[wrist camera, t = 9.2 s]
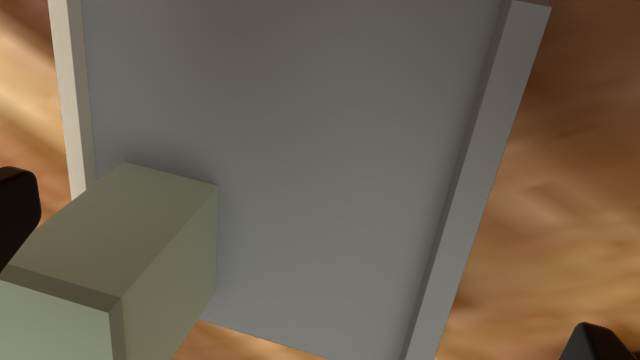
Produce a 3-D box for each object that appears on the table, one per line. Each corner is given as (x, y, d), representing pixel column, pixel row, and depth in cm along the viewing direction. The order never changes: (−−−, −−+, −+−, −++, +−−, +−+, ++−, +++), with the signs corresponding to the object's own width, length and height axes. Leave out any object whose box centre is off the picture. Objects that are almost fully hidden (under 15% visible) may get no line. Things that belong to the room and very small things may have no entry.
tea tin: (119, 159, 24) (-27, 271, 17) (220, 184, 23) (108, 313, 16) (127, 268, 27) (5, 399, 20) (216, 293, 26) (120, 439, 20)
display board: (68, -103, 20) (-21, -99, 17) (539, -19, 18) (552, 7, 14) (103, 272, 30) (50, 326, 26) (417, 366, 27) (406, 441, 23)
